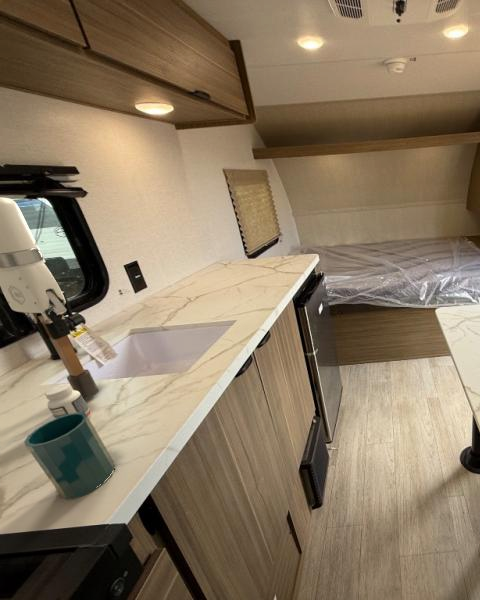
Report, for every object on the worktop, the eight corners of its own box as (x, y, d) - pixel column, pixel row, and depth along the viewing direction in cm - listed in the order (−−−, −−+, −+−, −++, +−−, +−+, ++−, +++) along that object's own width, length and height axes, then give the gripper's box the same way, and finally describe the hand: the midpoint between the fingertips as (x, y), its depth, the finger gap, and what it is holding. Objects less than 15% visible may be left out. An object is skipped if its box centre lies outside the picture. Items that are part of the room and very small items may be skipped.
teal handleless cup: (50, 495, 55) (12, 443, 50) (96, 459, 61) (67, 410, 57) (81, 502, 53) (45, 449, 48) (125, 464, 60) (97, 414, 55)
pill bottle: (88, 409, 76) (71, 378, 72) (94, 417, 73) (76, 385, 70) (58, 423, 72) (38, 391, 68) (63, 432, 69) (42, 399, 66)
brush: (73, 398, 78) (28, 318, 70) (91, 388, 82) (50, 310, 74) (85, 400, 78) (41, 318, 69) (102, 389, 81) (63, 311, 73)
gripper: (-34, 264, 65) (13, 342, 72) (19, 264, 62) (63, 346, 68) (14, 255, 72) (53, 327, 79) (65, 254, 68) (100, 330, 75)
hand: (57, 335), depth 74 cm, fingers closed on brush, 2 cm apart
